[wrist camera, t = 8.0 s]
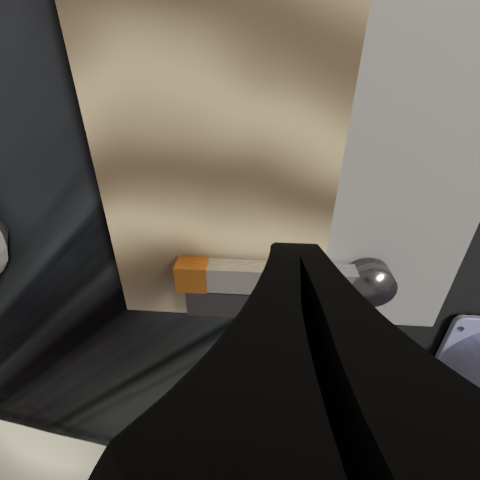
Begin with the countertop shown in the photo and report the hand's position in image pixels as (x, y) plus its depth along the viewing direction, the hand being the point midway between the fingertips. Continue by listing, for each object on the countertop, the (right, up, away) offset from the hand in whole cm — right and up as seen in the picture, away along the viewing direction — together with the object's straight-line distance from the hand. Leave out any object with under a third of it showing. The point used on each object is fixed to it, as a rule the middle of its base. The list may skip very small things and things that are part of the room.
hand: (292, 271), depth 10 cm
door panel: (-3, +4, +8) cm, 10 cm away
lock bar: (+1, -1, +9) cm, 10 cm away
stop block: (-3, -2, +11) cm, 11 cm away
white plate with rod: (+7, +4, +8) cm, 11 cm away
